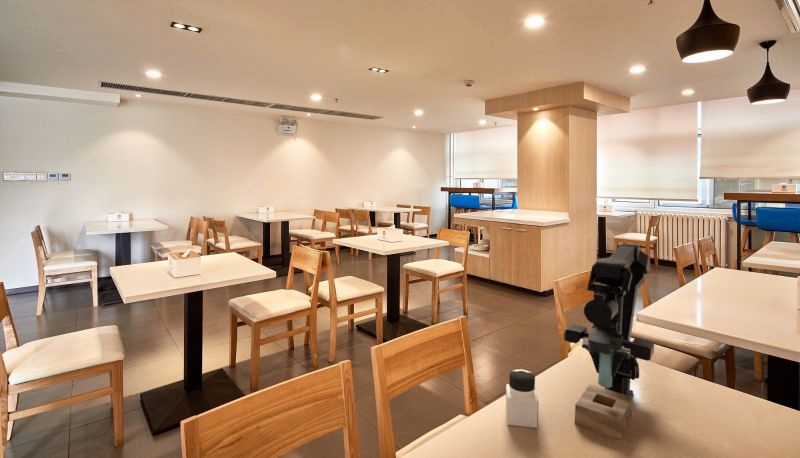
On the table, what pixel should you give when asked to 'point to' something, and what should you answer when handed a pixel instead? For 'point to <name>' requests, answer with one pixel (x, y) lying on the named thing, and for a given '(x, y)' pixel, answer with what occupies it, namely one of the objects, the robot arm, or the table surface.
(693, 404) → the table surface
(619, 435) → the socket block
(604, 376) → the peg
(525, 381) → the medicine bottle
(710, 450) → the table surface
